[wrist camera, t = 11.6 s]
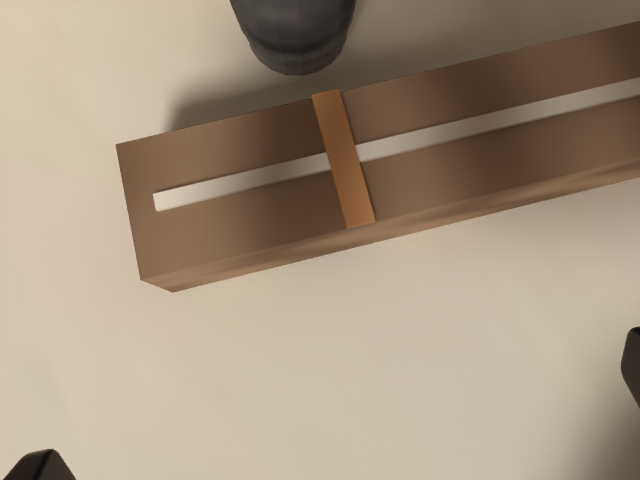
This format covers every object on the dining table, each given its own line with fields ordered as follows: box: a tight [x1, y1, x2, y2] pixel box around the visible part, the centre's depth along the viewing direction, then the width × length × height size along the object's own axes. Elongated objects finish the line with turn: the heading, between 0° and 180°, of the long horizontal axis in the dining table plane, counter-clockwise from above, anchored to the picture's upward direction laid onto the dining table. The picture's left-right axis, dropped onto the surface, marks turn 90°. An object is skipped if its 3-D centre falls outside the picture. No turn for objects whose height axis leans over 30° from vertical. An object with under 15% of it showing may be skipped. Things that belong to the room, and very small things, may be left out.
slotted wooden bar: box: [116, 21, 640, 292], centre depth 21 cm, size 26×5×4 cm, turn 104°
